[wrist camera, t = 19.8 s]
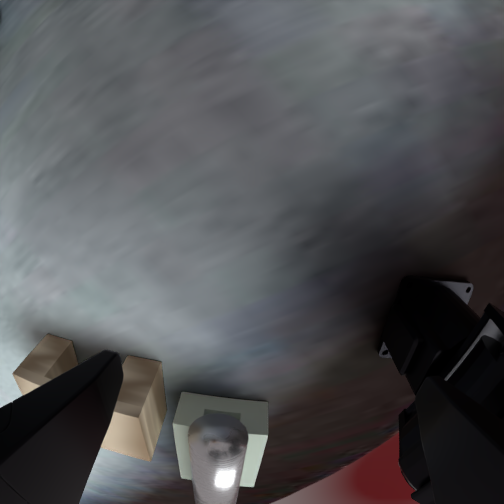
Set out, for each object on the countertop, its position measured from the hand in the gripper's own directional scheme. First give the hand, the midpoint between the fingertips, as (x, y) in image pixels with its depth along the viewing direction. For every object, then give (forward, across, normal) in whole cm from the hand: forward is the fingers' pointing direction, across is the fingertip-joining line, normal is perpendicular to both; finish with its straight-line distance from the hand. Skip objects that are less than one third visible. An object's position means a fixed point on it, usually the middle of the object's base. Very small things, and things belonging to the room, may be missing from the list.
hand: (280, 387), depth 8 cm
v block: (+11, +2, +18) cm, 21 cm away
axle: (+8, +2, +20) cm, 21 cm away
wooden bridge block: (+11, +12, +13) cm, 21 cm away
